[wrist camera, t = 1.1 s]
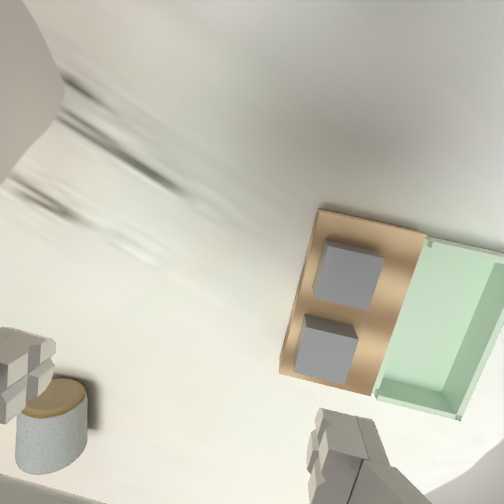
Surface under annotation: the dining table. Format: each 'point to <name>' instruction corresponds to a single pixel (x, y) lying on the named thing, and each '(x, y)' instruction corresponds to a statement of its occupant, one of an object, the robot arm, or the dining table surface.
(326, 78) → the dining table surface
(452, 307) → the tray
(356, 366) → the board
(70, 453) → the ceramic mug
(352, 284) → the tile
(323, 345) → the tile
